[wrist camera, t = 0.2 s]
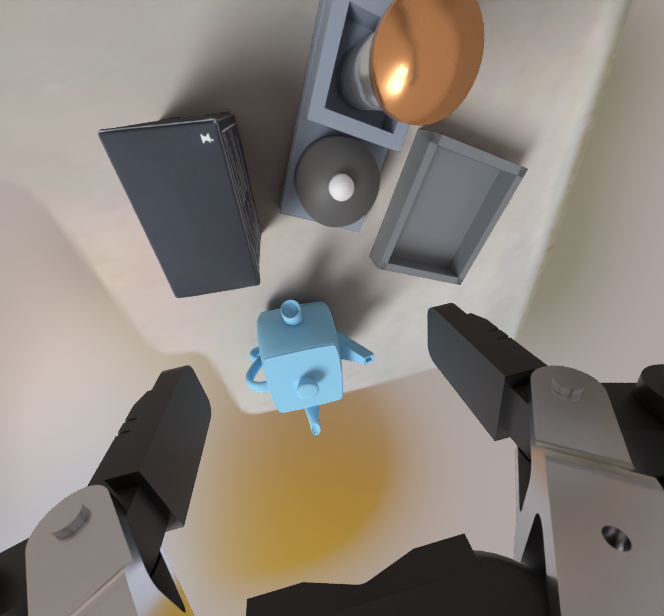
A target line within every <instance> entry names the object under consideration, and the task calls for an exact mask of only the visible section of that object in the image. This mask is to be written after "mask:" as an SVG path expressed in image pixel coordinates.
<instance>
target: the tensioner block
mask: <svg viewBox="0 0 664 616" xmlns="http://www.w3.org/2000/svg"><path fill="white" fill-rule="evenodd" d="M393 1H394V0H320V4H319V9H318V14H317V19H316V24H315V29H314V34H313V39H312V44H311V49H310V54H309V59H308V64H307V69H306V74H305V79H304V84H303V89H302V94H301V99H300V104H299V109H298V115H297V120H296V125H295V130H294V135H293V140H292V145H291V150H290V155H289V160H288V165H287V170H286V175H285V180H284V185H283V190H282V195H281V200H280V205H279V209H280V213H282V214H286V215H290V216H294V217H298V218H302V219H307V220H311V221H315V222H318V223H320V224H322V225H325V226H329V227H340V228H344V229H348V230H353V231H357V232H359V231H360V228H361V225H362V222H363V220H364V217H365V215H366V213H367V212H368V211H369V210H370V209H371V207H372V206H373V204H374V202H375V200H376V197H377V194H378V191H379V184H380V175H379V174H380V171H381V168H382V165H383V162H384V159H385V157H386V154H387V151H388V149H391V150H394V151H397V152H400V150H401V147H402V144H403V141H404V139H405V136H406V133H407V131H408V128H409V125H410V124H404V123H400V122H397V121H395V120H393V119H392V118H390V117H389V116H388V115H387V114H386V113H385V112H384V111H381V110H355V109H352V108H350V107H349V106H347V105H346V104H345V103H344V101H343V100H342V98H341V97H340V95H339V92H338V89H337V83H336V75H337V68H338V65H339V62H340V60H341V58H342V56H343V55H344V54H345V53H346V51H347V50H349V49H350V48H351V47H353V46H354V45H356V44H357V43H359V42H360V41H362V40H363V39H365V38H366V37H368V36H369V35H371V34H372V33H374V32H375V29H376V27H377V25H378V22H379V20H380V19H381V17H382V15H383V13H384V12H385V11H386V9H387V8H388V7H389V5H390V4H391V3H392V2H393Z"/></svg>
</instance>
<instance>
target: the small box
mask: <svg viewBox="0 0 664 616" xmlns="http://www.w3.org/2000/svg"><path fill="white" fill-rule="evenodd" d="M98 136H99V138H100V140H101V142H102V144H103V146H104V148H105V150H106V152H107V155H108V157H109V159H110V161H111V163H112V165H113V167H114V169H115V171H116V173H117V175H118V177H119V179H120V182H121V184H122V186H123V188H124V190H125V192H126V194H127V196H128V198H129V200H130V202H131V204H132V206H133V209H134V211H135V213H136V215H137V217H138V219H139V221H140V223H141V225H142V227H143V229H144V231H145V233H146V236H147V238H148V240H149V242H150V244H151V246H152V248H153V251H154V253H155V255H156V257H157V259H158V261H159V263H160V265H161V267H162V270H163V272H164V274H165V276H166V278H167V280H168V282H169V284H170V287H171V289H172V291H173V293H174V295H175V297H176V298H183V297H191V296H197V295H203V294H209V293H216V292H221V291H227V290H234V289H239V288H245V287H251V286H256V285H259V284H260V274H259V260H260V259H259V257H260V240H261V231H260V226H259V221H258V217H257V212H256V208H255V203H254V199H253V195H252V190H251V186H250V182H249V177H248V173H247V167H246V162H245V159H244V155H243V150H242V146H241V142H240V138H239V134H238V130H237V126H236V122H235V116H234V115H233V114H232V113H230V112H227V113H226V112H224V113H220V114H212V115H205V116H195V117H185V118H180V117H177V118H170V119H166V120H160V121H154V122H148V123H142V124H136V125H129V126H124V127H117V128H110V129H101V130H99V131H98Z"/></svg>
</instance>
